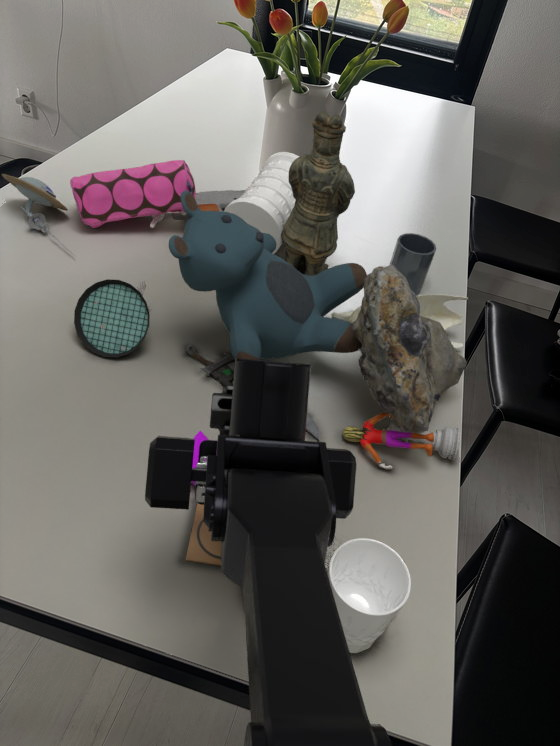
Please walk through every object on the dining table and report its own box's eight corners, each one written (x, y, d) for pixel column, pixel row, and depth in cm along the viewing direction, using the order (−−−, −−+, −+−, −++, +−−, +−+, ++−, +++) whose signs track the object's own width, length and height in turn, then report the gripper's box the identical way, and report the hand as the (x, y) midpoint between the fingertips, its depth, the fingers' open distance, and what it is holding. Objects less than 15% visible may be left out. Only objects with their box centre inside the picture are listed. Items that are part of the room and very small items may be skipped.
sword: (337, 426, 85) (308, 451, 81) (207, 337, 95) (175, 355, 90) (338, 422, 85) (309, 448, 80) (207, 333, 94) (175, 352, 90)
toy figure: (349, 408, 86) (346, 401, 83) (436, 420, 82) (437, 412, 80) (338, 463, 83) (335, 457, 80) (429, 477, 79) (429, 471, 77)
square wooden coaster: (254, 570, 68) (254, 568, 67) (185, 560, 67) (185, 558, 67) (260, 512, 73) (261, 510, 73) (197, 503, 73) (197, 501, 73)
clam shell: (475, 285, 97) (468, 356, 100) (436, 274, 107) (430, 339, 111) (345, 292, 90) (343, 368, 94) (317, 280, 101) (316, 348, 104)
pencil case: (187, 152, 105) (197, 212, 107) (191, 162, 114) (201, 216, 116) (62, 172, 104) (75, 232, 106) (77, 180, 114) (89, 235, 116)
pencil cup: (422, 299, 111) (438, 257, 105) (385, 293, 110) (399, 250, 104) (418, 278, 116) (433, 236, 110) (383, 272, 115) (396, 230, 109)
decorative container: (278, 266, 111) (313, 212, 122) (284, 213, 102) (321, 160, 113) (220, 246, 113) (259, 194, 124) (221, 193, 104) (263, 142, 115)
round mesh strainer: (82, 266, 88) (99, 272, 94) (67, 348, 88) (84, 349, 94) (157, 281, 87) (169, 286, 93) (141, 364, 87) (154, 364, 94)
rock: (340, 364, 67) (484, 354, 64) (344, 240, 80) (465, 226, 76) (365, 476, 86) (477, 473, 83) (365, 362, 99) (462, 355, 96)
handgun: (318, 220, 120) (284, 182, 129) (189, 233, 109) (162, 191, 118) (314, 236, 122) (281, 199, 131) (188, 251, 111) (162, 209, 120)
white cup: (378, 670, 62) (406, 626, 55) (303, 645, 62) (321, 598, 56) (388, 599, 67) (415, 552, 61) (319, 577, 68) (338, 527, 61)
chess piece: (458, 453, 80) (381, 439, 82) (451, 464, 84) (378, 450, 85) (461, 423, 82) (386, 409, 83) (455, 435, 86) (383, 421, 87)
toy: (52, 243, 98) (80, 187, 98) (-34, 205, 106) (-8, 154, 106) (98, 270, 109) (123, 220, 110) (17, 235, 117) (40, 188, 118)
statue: (340, 274, 113) (382, 108, 92) (323, 300, 106) (364, 127, 86) (284, 254, 115) (313, 88, 94) (264, 278, 108) (290, 105, 88)
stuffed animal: (369, 382, 83) (251, 257, 63) (258, 405, 92) (125, 302, 72) (373, 250, 94) (275, 110, 75) (275, 282, 104) (164, 165, 84)
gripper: (380, 398, 50) (339, 396, 66) (148, 379, 48) (162, 381, 63) (370, 535, 50) (330, 500, 65) (136, 522, 48) (153, 489, 63)
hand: (245, 465), depth 64 cm, fingers closed on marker, 3 cm apart
